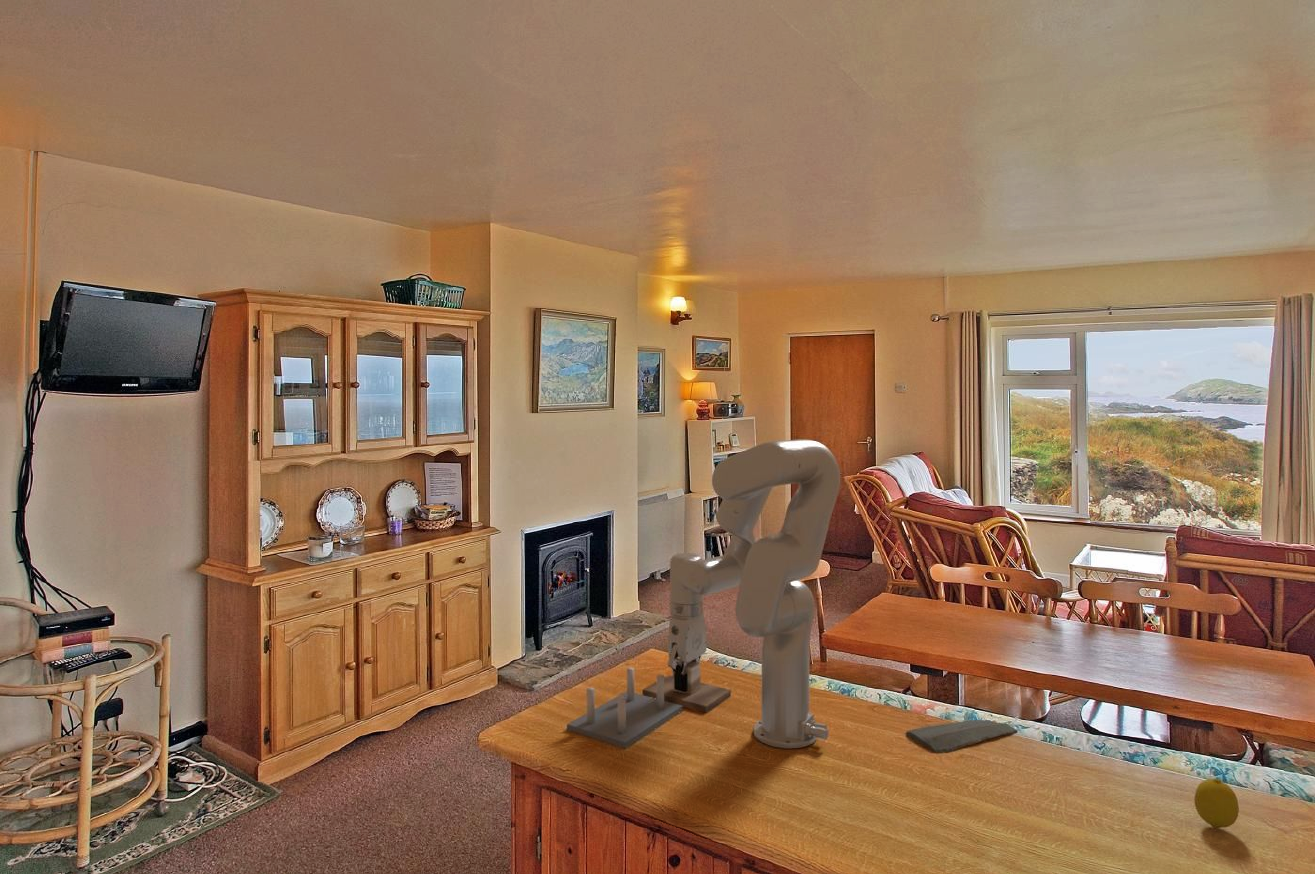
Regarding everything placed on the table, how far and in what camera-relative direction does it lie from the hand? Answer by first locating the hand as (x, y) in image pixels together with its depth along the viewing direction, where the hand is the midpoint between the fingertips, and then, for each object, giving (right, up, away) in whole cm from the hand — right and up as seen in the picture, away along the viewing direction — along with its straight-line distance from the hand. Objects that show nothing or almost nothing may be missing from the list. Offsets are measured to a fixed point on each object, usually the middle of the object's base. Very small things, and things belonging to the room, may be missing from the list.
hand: (686, 686), depth 169 cm
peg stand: (-13, -3, -13) cm, 19 cm away
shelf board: (0, -2, 0) cm, 2 cm away
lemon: (+81, -5, -53) cm, 97 cm away
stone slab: (+55, -4, -20) cm, 59 cm away
